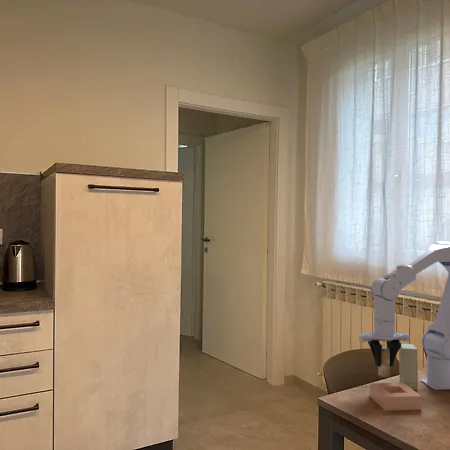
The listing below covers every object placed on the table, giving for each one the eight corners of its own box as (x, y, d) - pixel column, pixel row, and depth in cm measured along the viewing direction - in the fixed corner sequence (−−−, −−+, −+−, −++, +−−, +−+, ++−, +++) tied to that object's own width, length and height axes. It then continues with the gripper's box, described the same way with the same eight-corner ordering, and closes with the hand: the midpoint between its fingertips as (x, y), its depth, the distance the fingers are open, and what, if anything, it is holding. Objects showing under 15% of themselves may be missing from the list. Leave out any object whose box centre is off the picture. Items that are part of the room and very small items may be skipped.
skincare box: (418, 390, 132) (418, 349, 132) (402, 389, 133) (402, 348, 133) (413, 383, 139) (413, 343, 139) (398, 381, 140) (398, 342, 139)
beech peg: (386, 373, 134) (387, 346, 134) (391, 377, 131) (391, 349, 131) (376, 373, 134) (376, 346, 134) (381, 377, 131) (381, 350, 130)
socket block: (403, 395, 129) (403, 382, 129) (421, 409, 119) (421, 396, 119) (369, 396, 128) (369, 383, 128) (384, 410, 118) (385, 397, 118)
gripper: (365, 322, 128) (365, 370, 128) (414, 322, 129) (414, 369, 129) (356, 317, 135) (356, 362, 135) (403, 317, 136) (402, 361, 136)
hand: (384, 365), depth 132 cm, fingers closed on beech peg, 3 cm apart
